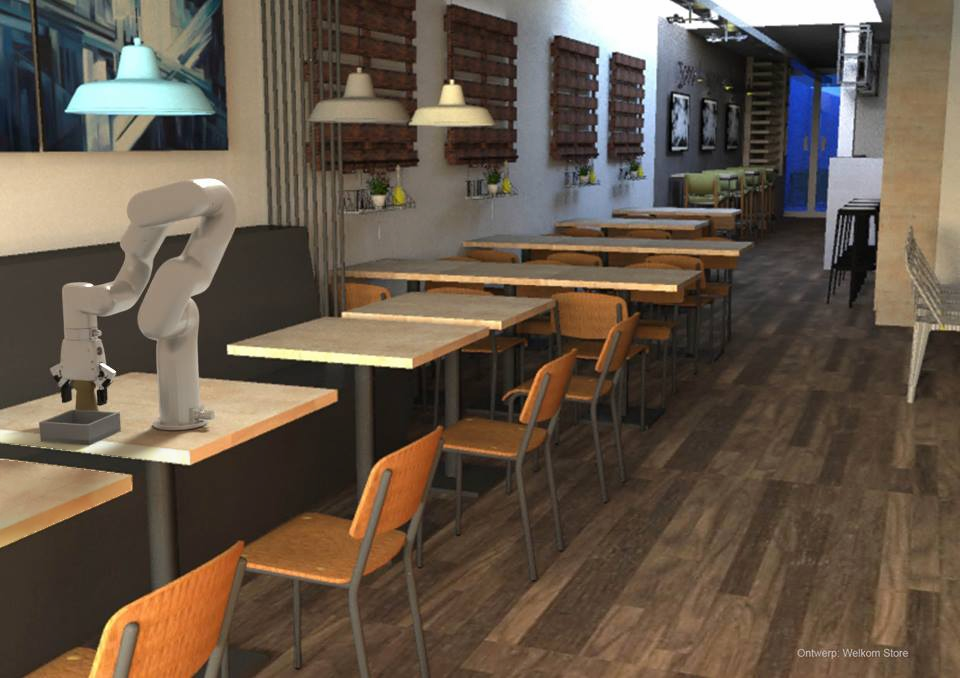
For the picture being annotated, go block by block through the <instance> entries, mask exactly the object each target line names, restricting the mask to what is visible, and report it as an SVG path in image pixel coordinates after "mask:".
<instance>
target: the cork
mask: <svg viewBox="0 0 960 678" xmlns="http://www.w3.org/2000/svg"><path fill="white" fill-rule="evenodd" d="M73 388H74V390H75V391H76V395H75V407H74V408H75V409H74V410H88V411H100V410H99V406H98V405H97V395H96V392H95V391H96V388H97V386H96V384H95V383H94V382H88V381H83V380H75V381H74V380H73Z"/></svg>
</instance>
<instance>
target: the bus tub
mask: <svg viewBox="0 0 960 678" xmlns="http://www.w3.org/2000/svg"><path fill="white" fill-rule="evenodd" d="M120 413H121V412H120V411H106V410H105V411H104V410H99V411H88V410H75V409H69V410H68V411H65V412H63V413H60V414H57V415H54V416H51V417H50V418H47V419H45V420H44V419H43V420H42V421H39V422H38V425H39V438H40V440H39V441H40V442H41V443H56V444H70V445H85V446H86V445H87V446H90V445H93V444H95V443H97V442H99V441H103V440H104V439H106V438H108V437H110V436H113V435H115V434H117V433H118V434H119V432H121V429H122V427H121V426H122V425H121V424H122V423H121V414H120Z"/></svg>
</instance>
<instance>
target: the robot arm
mask: <svg viewBox="0 0 960 678" xmlns="http://www.w3.org/2000/svg"><path fill="white" fill-rule="evenodd" d="M238 208H239V207H238V203H237V200H236V197H235V195H234V194H233V192H232V191H231V190H230V188H229V187H228V186H227V185H226V184H225V183H223V182H222V181H221V180H217V179H216V178H209V177H204V178H190V179H184V180H180V181H179V180H178V181H176V182H172V183H168V184H165V185H162V186H159V187H158V186H157V187H154V188H151V189H145V190H142V191H139V192H137V193H135V194H134V195H132V197H130V199H129V201H128V203H127V206H126V214H127V218H128V220H129V221H130V223H129V225H128V226H127V228H126V230H125V232H124V233H123V235H122V237H121V238H120V241H119V245H120V248H121V249H122V251H123V252H124V255H125V256H124V261H123V264H122V266H121V268H120V270H119V272H118V273H117V275H116V277H115V279H114V280H113V281H110V282H106V283H103V284H98V285H94V284H92V283H90V282H85V281H84V282H80V281H78V282H70V283H69V282H68V283H65V284H64V285H63V286H62V290H61V293H62V297H61V298H62V315H63V333H64V339H62V342H61V349H60V362H59V363H58V364H56V365H54V366H52V367H50V368H49V371H50V373H51V375H52V376H53V379H54V381H55V382H56V383H57V386H58V388H60V397H61V403H62V404H66V403H70V402H71V401H72V400H73V394H72V391H73V389H72V385H71V384H70V383H71V381H73V382H74V381H75V380H83V381H88V382H94V383H95V384H96V388H98V389H97V390H96V401H97V405H98V407H102V406H104V405H106V404H107V403H108V389H109V388H110V386H111V384H112V383H113V382H114V379H115V378H116V375H117V371H115V370H114V369H113V368H111V367H110V366H108V365H107V360H106V354H105V348H104V345H103V342H102V339H101V338H99V337H101V336H102V335H103V334H102V330H99V328H98V317H108V316H112V315H115V314H118V313H121V312H124V311H125V312H126V311H127V310H129V309H131V308H132V307H133V306H134V305H135V304H136V303H137V302H138V301H139V298H140V297H141V295H142V293H143V292H144V290H145V288H146V287H147V284H148V283H149V281H150V278H151V275H152V271H153V267H154V259H155V256H156V254H157V253H158V252H159V250H160V247H161V246H162V244H163V243H164V241H165V239H166V237H167V235H168V234H169V232H170V230H171V229H172V228H173V225H174V223H176V222H180V221H184V220H188V219H191V218H197V217H198V218H199V217H200V220H199V222H198V223H197V224H196V226H195V228H194V229H193V231H192V232H191V234H190V237H189V239H188V241H187V243H186V245H185V247H184V249H183V251H182V252H181V254H180V255H179V256H175V257H172V258H169V259H167V260H166V261H164V262H163V263H162V264H161V265H160V266H159V267H158V269H157V270H156V272H155V274H154V276H153V278H152V280H151V283H150V285H149V287H148V289H147V292H146V293H145V295H144V298H143V300H142V302H141V303H140V306H139V310H138V312H137V325H138V328H139V330H140V331H141V333H142V335H143V336H145V337H146V338H147V339H150V340H153V341H156V348H155V350H156V352H155V354H156V355H155V356H156V357H155V359H156V374H157V375H156V376H157V394H158V411H159V417H157V418H155V419H154V420H153V421H152V424H153V427H154V428H156V429H158V430H163V431H185V430H186V431H187V430H191V429H192V430H193V429H198V428H200V427H203V426H205V425H207V424H208V421H213V420H214V419H215V410H206V409H205V404H204V403H203V404H202V403H201V400H200V399H201V396H200V394H201V393H200V376H199V375H200V373H199V354H198V353H199V352H198V351H199V350H198V349H199V348H198V336H199V325H200V313H199V308H198V305H197V303H196V302H195V301H194V299H193V298H191V297H194V296H196V295H199V294H202V293H203V292H205V291H206V290H207V289H208V288H209V287H210V285H211V283H212V281H213V279H214V276H215V274H216V272H217V270H218V268H219V265H220V263H221V261H222V258H223V257H224V255H225V252H226V250H227V247H228V245H229V243H230V241H231V239H232V238H233V234H234V232H235V229H236V228H237V223H238V219H239V209H238Z"/></svg>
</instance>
